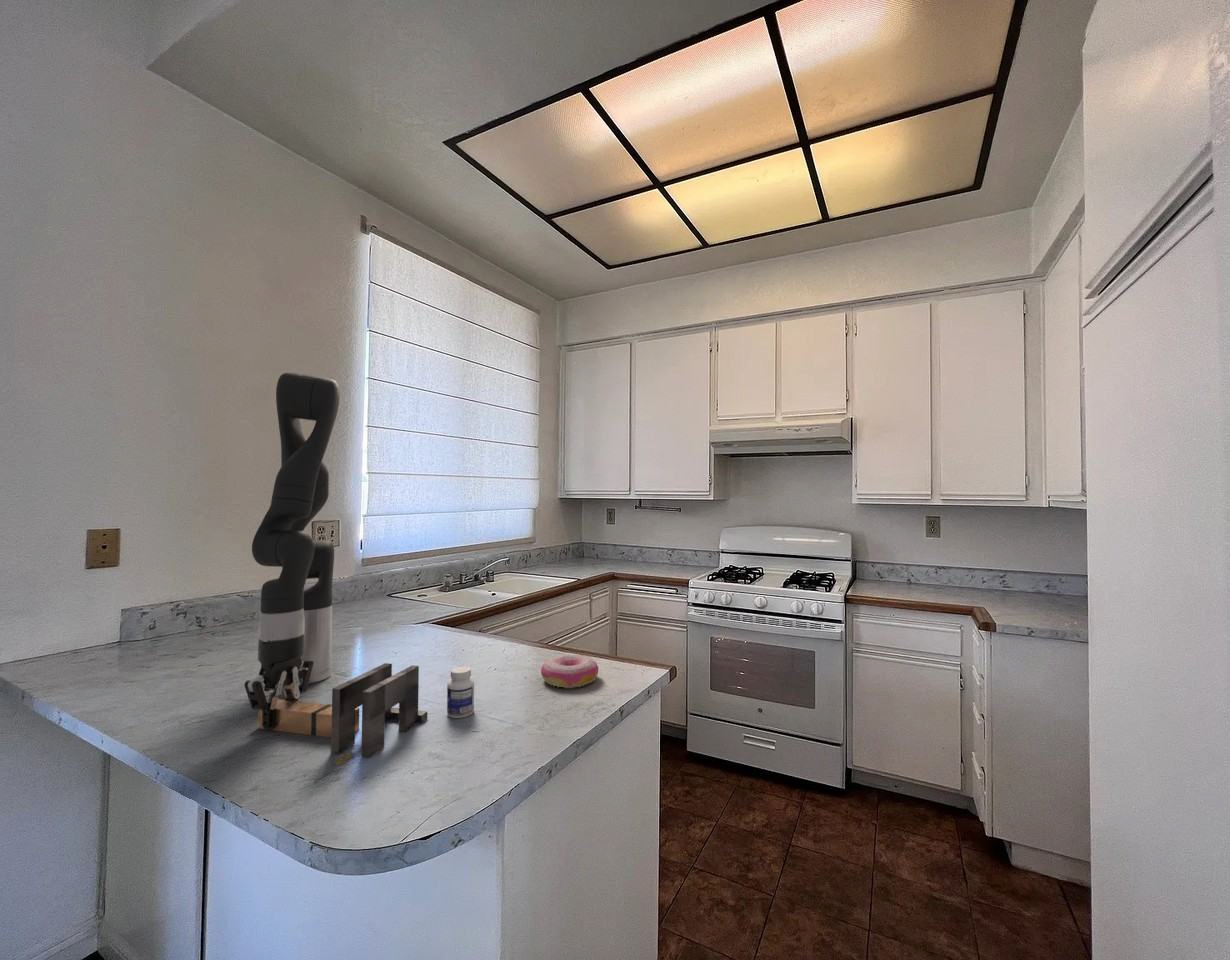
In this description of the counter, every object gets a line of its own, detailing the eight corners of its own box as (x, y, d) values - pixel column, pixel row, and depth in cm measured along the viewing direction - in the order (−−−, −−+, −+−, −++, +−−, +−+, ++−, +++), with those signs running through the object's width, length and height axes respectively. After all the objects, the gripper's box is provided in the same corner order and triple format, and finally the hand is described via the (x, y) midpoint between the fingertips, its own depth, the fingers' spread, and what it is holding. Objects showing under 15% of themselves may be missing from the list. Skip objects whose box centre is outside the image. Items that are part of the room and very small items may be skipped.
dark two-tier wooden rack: (313, 761, 87) (314, 694, 87) (387, 714, 105) (388, 659, 106) (360, 768, 85) (361, 699, 85) (427, 719, 103) (428, 663, 104)
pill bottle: (450, 708, 108) (450, 665, 109) (476, 707, 109) (476, 664, 109) (444, 719, 103) (444, 674, 103) (471, 718, 104) (471, 673, 104)
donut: (530, 685, 122) (530, 664, 122) (560, 668, 134) (560, 649, 134) (580, 695, 116) (580, 672, 116) (606, 676, 128) (607, 656, 128)
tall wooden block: (257, 728, 99) (258, 706, 99) (276, 719, 103) (276, 698, 103) (343, 738, 95) (343, 716, 95) (359, 729, 99) (359, 707, 99)
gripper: (295, 623, 109) (294, 706, 108) (231, 642, 95) (229, 738, 94) (326, 625, 107) (324, 710, 106) (265, 645, 93) (263, 742, 93)
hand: (280, 722), depth 100 cm, fingers closed on tall wooden block, 4 cm apart
